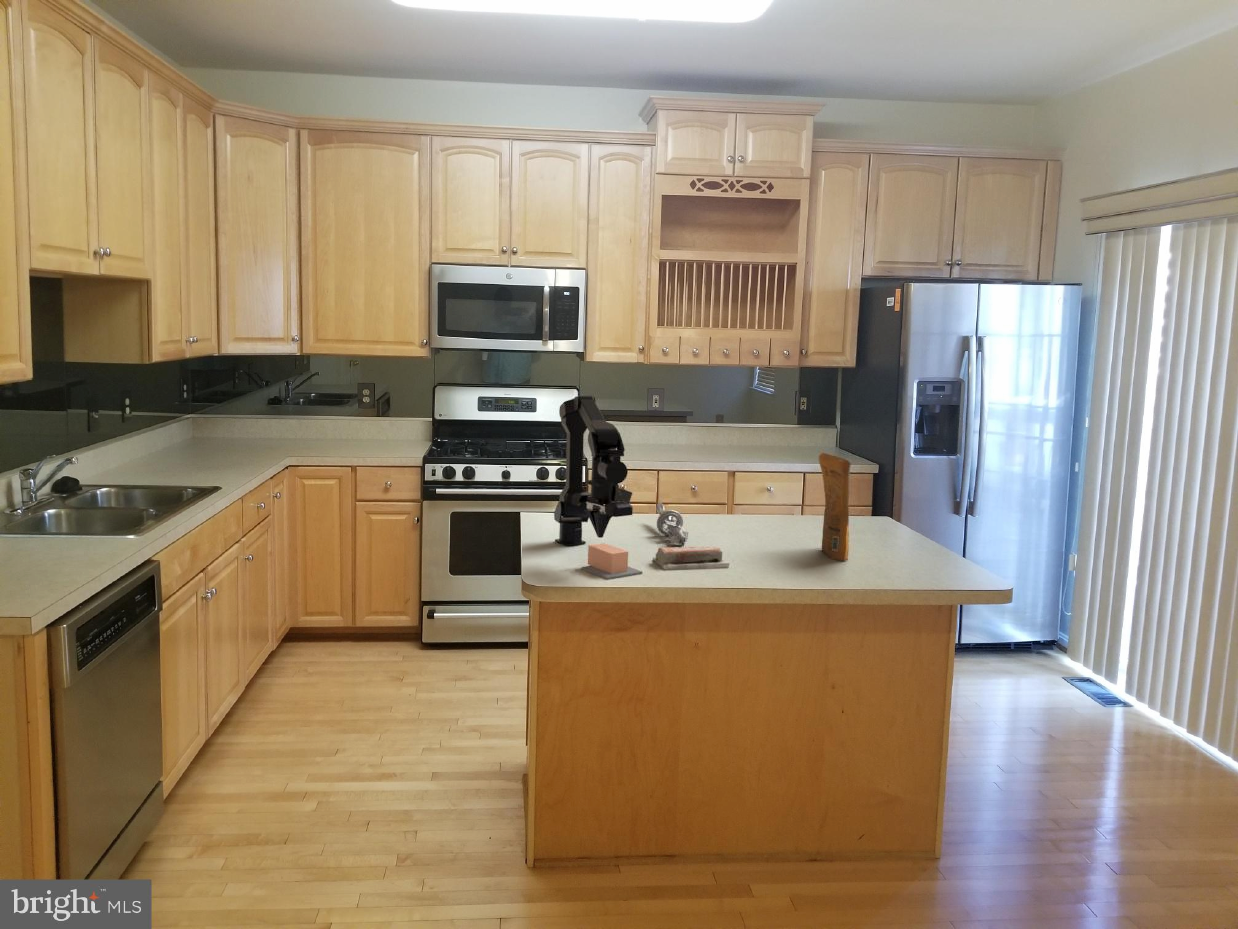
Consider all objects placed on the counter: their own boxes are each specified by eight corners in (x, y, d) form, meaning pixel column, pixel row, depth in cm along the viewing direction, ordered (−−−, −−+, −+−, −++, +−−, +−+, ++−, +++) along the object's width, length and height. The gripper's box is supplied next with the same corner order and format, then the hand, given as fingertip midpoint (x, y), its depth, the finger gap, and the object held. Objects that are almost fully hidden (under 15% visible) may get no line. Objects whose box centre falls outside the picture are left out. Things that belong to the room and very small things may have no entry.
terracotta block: (588, 545, 253) (612, 554, 245) (604, 543, 256) (628, 551, 249) (587, 564, 254) (611, 573, 246) (603, 562, 257) (627, 571, 249)
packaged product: (665, 553, 253) (652, 544, 263) (664, 572, 254) (652, 562, 263) (730, 551, 259) (716, 542, 268) (729, 569, 259) (715, 559, 269)
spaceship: (674, 498, 309) (651, 488, 306) (702, 535, 275) (677, 525, 273) (663, 520, 310) (640, 511, 308) (689, 560, 277) (664, 550, 275)
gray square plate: (581, 569, 251) (581, 567, 251) (615, 563, 258) (615, 561, 258) (607, 579, 243) (607, 577, 243) (642, 573, 249) (642, 571, 249)
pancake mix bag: (830, 562, 269) (839, 460, 265) (810, 545, 288) (817, 449, 283) (854, 563, 270) (863, 461, 265) (832, 546, 289) (840, 450, 284)
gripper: (650, 480, 248) (647, 541, 251) (605, 469, 263) (603, 527, 265) (615, 483, 242) (612, 546, 244) (571, 472, 256) (569, 531, 259)
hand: (600, 537), depth 253 cm, fingers closed
